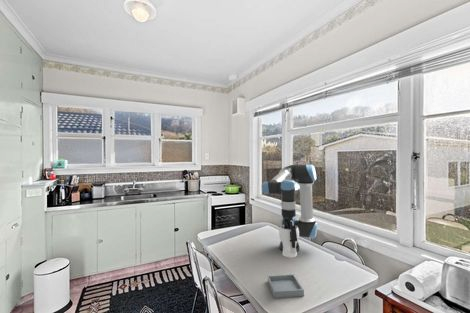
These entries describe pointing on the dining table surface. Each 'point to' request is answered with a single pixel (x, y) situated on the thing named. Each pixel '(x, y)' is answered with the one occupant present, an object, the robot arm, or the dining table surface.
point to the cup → (287, 240)
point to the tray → (285, 286)
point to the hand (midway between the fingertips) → (289, 249)
